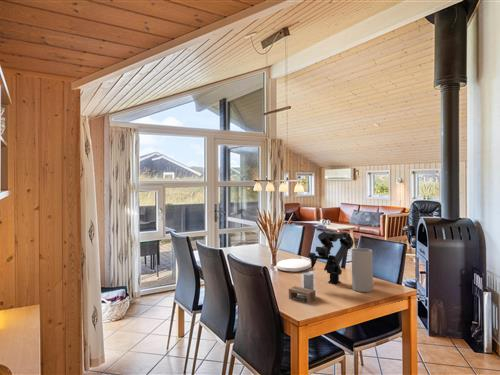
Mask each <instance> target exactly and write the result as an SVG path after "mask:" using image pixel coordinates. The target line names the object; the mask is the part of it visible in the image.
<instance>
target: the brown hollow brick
mask: <svg viewBox="0 0 500 375" xmlns="http://www.w3.org/2000/svg"><path fill="white" fill-rule="evenodd" d="M300 294H302V295H306V296H307V300H305V299H301V298H297V297H296V296H298V295H300ZM316 297H317V296H316V290H315V289H314V290H311V289H307V288H304V287H301V286H297V285H294V286H292V287H290V288H288V299H292V300H295V301H299V302H303V303H306V304H311V303H312V302H314V301H316Z"/></svg>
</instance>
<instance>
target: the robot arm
mask: <svg viewBox="0 0 500 375" xmlns="http://www.w3.org/2000/svg"><path fill="white" fill-rule="evenodd" d="M317 238H318V240H319V243H321V244H322V246H315V252H317V254H316V253H315V252H308V255H307V256H308V258H309V260H310V263H311V266H310V268H311V269H313V268H314V267H315V265H316V263H317V260H318V259H319V260H324V261H326V263H325V266H324V267H323V268H324V269H323V270H324V271H326V274H329V281H327V283H328V284H332V285H338V284H340V283H342V281H341V280H340V275H342V273H343V272H342V271H343V270H342V268H341V265H340V264H341V262H342V260H343V258H344V256H345V255H346V252H347V251H348V250H352V248H353V246H354V243H355V242H354V240H353V238H352V236H350V234H349V233H348V232H346V231H340V232H327V231H322V232H321V233H319V234H318V235H317ZM338 240H339V242H340V246H339V249H338V250H337V252H336V254H335V255H333V254H331V250H332V248H334V243H336V242H337V241H338Z"/></svg>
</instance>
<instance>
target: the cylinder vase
mask: <svg viewBox="0 0 500 375" xmlns="http://www.w3.org/2000/svg"><path fill="white" fill-rule="evenodd" d="M350 250H351V283H352V284H351V286H352V287H351V288H352V289H353V290H354V291H355V292H359V293H370V292H372V291H373V290H374V268H373V266H374V265H373V250H372V249H370V248H364V247H357V248H356V247H354V248H351V249H350Z"/></svg>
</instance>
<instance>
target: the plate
mask: <svg viewBox="0 0 500 375" xmlns="http://www.w3.org/2000/svg"><path fill="white" fill-rule="evenodd" d="M276 268H277V269H279V270H281V271H284V272H297V273H298V272H301V271H305V270H308V269H309V268H311V261H309V260H307V259H302V258H289V259H282V260H280V261H278V262H277V263H276Z"/></svg>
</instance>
